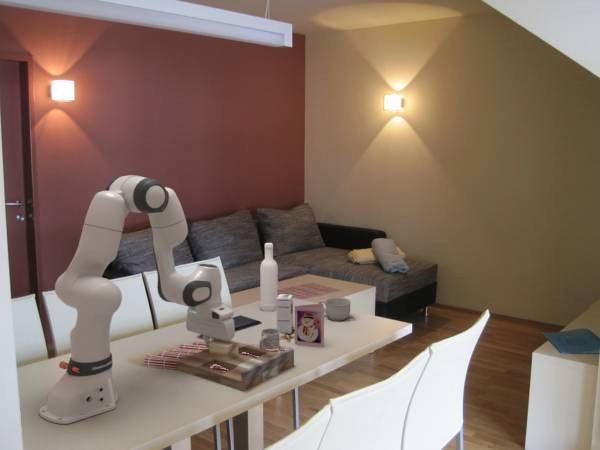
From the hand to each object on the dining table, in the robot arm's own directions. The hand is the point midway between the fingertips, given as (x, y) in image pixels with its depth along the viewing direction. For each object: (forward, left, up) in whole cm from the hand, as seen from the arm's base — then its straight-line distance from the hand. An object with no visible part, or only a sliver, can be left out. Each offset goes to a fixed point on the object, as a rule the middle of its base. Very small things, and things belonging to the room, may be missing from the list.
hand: (210, 347), depth 222 cm
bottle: (+61, +22, -5) cm, 65 cm away
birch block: (0, -6, -2) cm, 7 cm away
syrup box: (+41, -2, -5) cm, 41 cm away
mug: (+20, -10, -5) cm, 23 cm away
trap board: (0, -12, -5) cm, 13 cm away
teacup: (+67, -9, -5) cm, 68 cm away
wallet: (+35, +20, -6) cm, 41 cm away
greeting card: (+35, -19, -5) cm, 40 cm away
